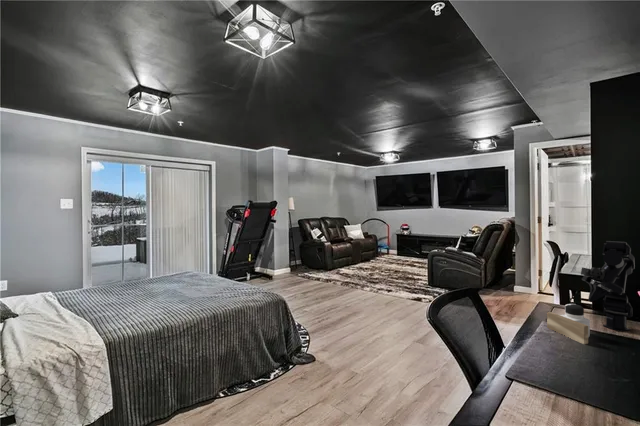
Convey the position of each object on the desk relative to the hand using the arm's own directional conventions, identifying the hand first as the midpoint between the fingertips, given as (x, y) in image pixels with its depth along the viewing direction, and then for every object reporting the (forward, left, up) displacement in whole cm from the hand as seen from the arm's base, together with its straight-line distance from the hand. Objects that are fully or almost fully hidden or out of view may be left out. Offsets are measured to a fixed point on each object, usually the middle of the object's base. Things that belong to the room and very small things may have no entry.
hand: (589, 301), depth 134 cm
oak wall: (+14, +2, -13) cm, 19 cm away
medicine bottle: (+9, +1, -13) cm, 16 cm away
